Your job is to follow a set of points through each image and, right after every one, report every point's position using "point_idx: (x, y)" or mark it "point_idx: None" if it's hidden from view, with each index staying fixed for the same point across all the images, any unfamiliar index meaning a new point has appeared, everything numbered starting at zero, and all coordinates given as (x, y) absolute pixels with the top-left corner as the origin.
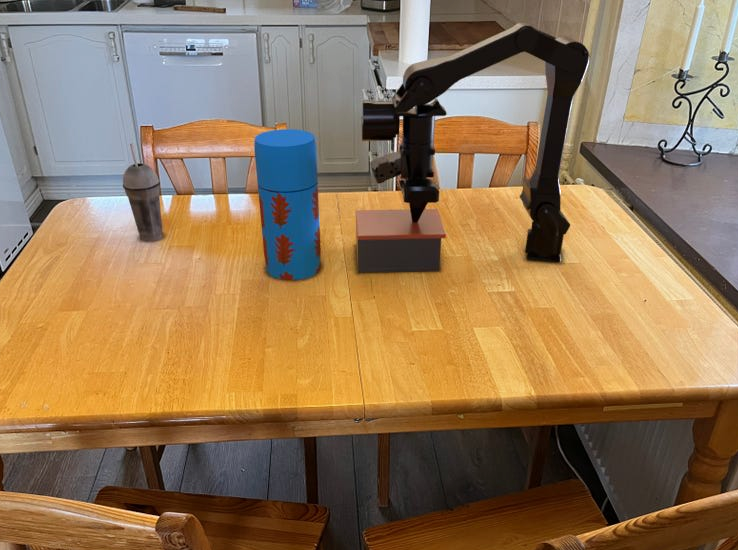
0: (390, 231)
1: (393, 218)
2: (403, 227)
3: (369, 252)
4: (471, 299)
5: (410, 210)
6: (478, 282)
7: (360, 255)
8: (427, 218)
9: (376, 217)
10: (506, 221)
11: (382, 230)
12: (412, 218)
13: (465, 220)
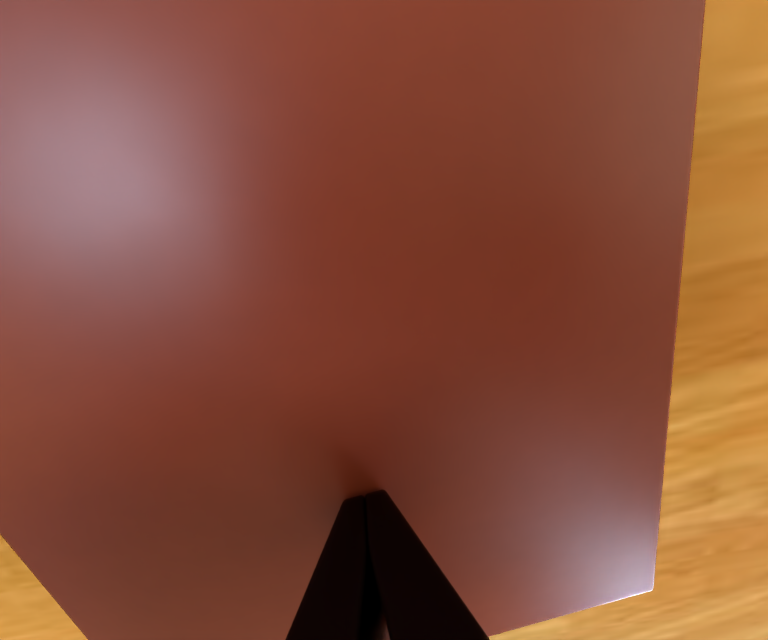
0: None
1: (412, 303)
2: (178, 448)
3: None
4: (6, 614)
5: (319, 624)
6: None
7: None
8: (453, 577)
9: (415, 56)
10: (716, 598)
11: None
12: (332, 536)
13: (753, 484)
